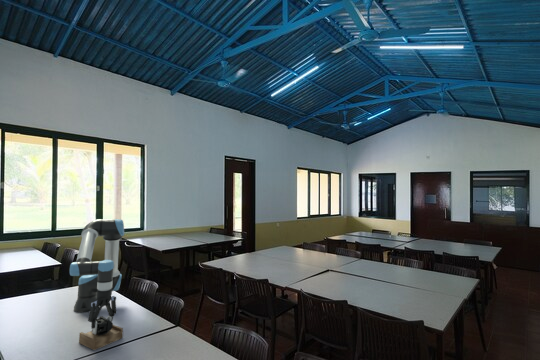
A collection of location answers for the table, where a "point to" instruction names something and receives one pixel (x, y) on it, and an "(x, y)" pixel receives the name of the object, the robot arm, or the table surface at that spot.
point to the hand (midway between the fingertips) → (101, 330)
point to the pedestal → (100, 338)
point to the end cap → (103, 326)
